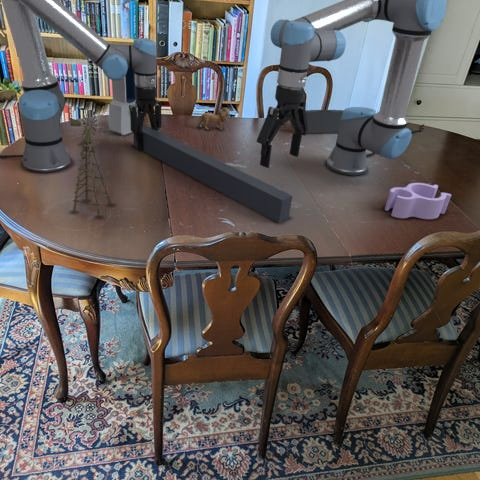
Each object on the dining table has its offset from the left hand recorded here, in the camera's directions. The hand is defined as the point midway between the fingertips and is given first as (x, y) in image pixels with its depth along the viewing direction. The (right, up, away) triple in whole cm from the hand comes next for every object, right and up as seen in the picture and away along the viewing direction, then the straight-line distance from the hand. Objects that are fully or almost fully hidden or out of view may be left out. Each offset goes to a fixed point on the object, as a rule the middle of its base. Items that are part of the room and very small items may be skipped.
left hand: (146, 147), depth 178 cm
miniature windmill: (-8, -26, -41) cm, 49 cm away
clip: (+93, -26, -23) cm, 100 cm away
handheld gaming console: (+72, +14, +34) cm, 81 cm away
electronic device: (-12, +10, +14) cm, 21 cm away
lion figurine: (+24, +13, +26) cm, 38 cm away
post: (+23, -14, -17) cm, 31 cm away
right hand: (+47, -12, -43) cm, 65 cm away
